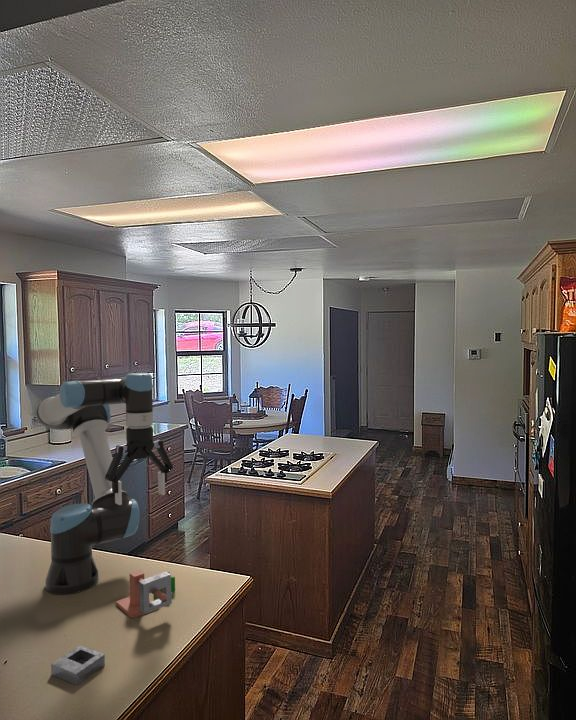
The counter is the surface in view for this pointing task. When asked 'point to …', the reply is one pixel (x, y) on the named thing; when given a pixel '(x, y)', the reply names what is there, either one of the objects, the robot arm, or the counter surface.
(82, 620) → the counter surface
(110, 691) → the counter surface
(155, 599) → the pipe clamp
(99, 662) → the link
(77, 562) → the robot arm
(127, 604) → the hook
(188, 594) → the counter surface
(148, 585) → the link
